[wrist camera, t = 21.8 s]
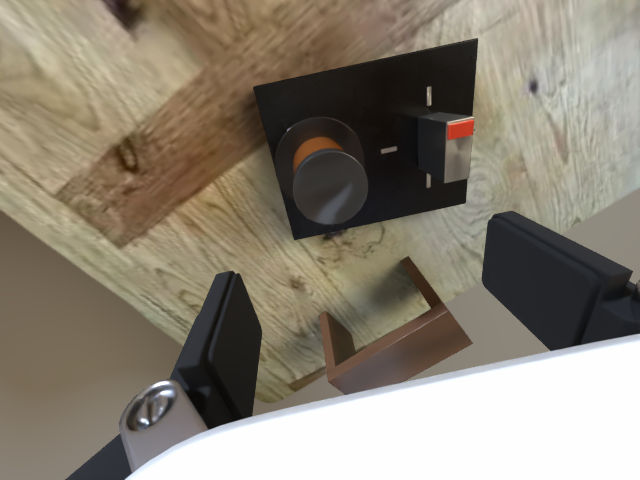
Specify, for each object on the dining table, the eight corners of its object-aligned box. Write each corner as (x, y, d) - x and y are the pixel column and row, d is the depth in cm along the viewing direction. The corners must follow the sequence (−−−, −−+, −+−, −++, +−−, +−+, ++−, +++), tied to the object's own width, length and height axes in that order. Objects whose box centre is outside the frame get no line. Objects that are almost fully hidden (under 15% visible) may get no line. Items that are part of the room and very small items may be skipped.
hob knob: (438, 163, 26) (471, 179, 21) (417, 168, 26) (446, 184, 21) (439, 111, 24) (476, 116, 19) (417, 116, 24) (448, 122, 19)
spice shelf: (430, 285, 36) (473, 343, 28) (344, 338, 39) (360, 405, 31) (408, 255, 33) (448, 310, 25) (318, 315, 37) (327, 382, 28)
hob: (456, 194, 30) (470, 203, 28) (293, 229, 30) (294, 241, 28) (465, 42, 24) (484, 36, 21) (256, 87, 24) (252, 86, 21)
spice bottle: (351, 186, 26) (371, 216, 19) (298, 197, 26) (302, 231, 19) (343, 129, 23) (364, 143, 17) (285, 142, 23) (284, 160, 17)
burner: (367, 196, 27) (368, 198, 26) (287, 214, 27) (287, 215, 26) (357, 106, 23) (358, 107, 22) (263, 127, 23) (263, 127, 22)
